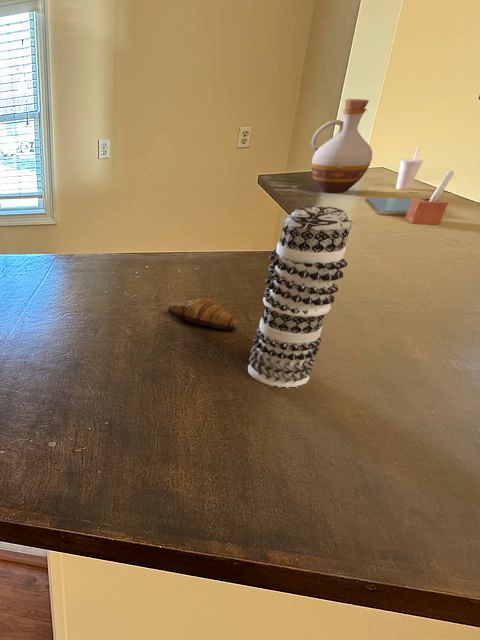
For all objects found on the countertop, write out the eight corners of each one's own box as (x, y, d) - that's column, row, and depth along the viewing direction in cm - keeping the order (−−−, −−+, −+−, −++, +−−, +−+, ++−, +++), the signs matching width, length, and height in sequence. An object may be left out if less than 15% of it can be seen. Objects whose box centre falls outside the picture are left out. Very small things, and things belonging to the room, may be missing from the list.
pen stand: (432, 218, 139) (440, 197, 136) (439, 224, 134) (448, 202, 131) (405, 218, 141) (412, 197, 138) (411, 223, 136) (419, 201, 133)
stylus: (422, 221, 138) (454, 170, 130) (424, 222, 137) (456, 171, 129) (416, 219, 138) (447, 169, 131) (417, 221, 137) (449, 170, 129)
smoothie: (414, 190, 169) (429, 147, 162) (392, 190, 172) (406, 148, 165) (412, 187, 173) (426, 145, 166) (390, 186, 176) (403, 145, 169)
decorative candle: (254, 388, 71) (294, 220, 59) (238, 358, 79) (270, 203, 67) (321, 390, 70) (377, 218, 57) (298, 359, 77) (343, 201, 65)
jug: (294, 193, 177) (315, 102, 162) (305, 184, 189) (326, 98, 174) (357, 197, 166) (386, 99, 151) (365, 188, 177) (393, 96, 162)
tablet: (416, 201, 156) (417, 198, 156) (436, 216, 141) (437, 212, 140) (365, 200, 162) (366, 197, 161) (379, 214, 146) (380, 211, 145)
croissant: (244, 325, 89) (249, 301, 86) (228, 338, 85) (232, 313, 83) (177, 307, 98) (180, 284, 95) (159, 318, 94) (162, 295, 91)
